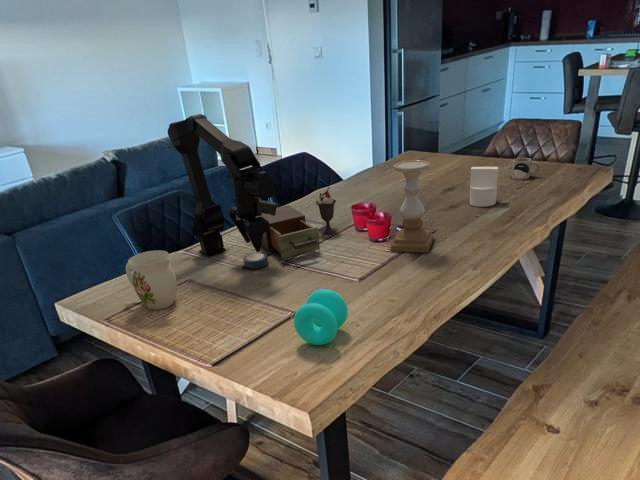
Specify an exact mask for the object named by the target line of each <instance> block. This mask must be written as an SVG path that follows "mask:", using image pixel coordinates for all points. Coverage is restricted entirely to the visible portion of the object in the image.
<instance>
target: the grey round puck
mask: <svg viewBox="0 0 640 480" xmlns="http://www.w3.org/2000/svg"><path fill="white" fill-rule="evenodd" d="M242 260H243V266H244V267H245V268H248V269H250V270H259V269H262V268H264V267H265V266H266V265H267V264H269V259H268V254H267V253H264V252H252V253H248V254H246V255H245V256H243V258H242Z"/></svg>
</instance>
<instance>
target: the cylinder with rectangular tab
mask: <svg viewBox="0 0 640 480" xmlns="http://www.w3.org/2000/svg"><path fill="white" fill-rule="evenodd" d="M498 178H499V166H472V167H471V168H470V180H469V181H470V185H469V202H468V203H469V205H470V206H472V207H476V208H477V207H478V208H479V207H480V208H485V207H491V206H494V205H495V204H497V192H498V191H497V189H498V180H499V179H498Z"/></svg>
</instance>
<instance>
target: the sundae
mask: <svg viewBox="0 0 640 480" xmlns="http://www.w3.org/2000/svg"><path fill="white" fill-rule="evenodd" d="M329 189H331V187H330V186H328V187H327V189H326V191H325V192H323V193H319V197H318V198H319V199H318V200H316V201H315V204H316V205H317V206H318V209H319V214H320V219H321V220H322V221H324V222H325V228H323V229H322V230H321V231H320V232H321V234H323V235H324V234H325V235H330V234H334V233H336V232H337V229H335V228H332V227H331V223H330V222H331V220H333V218H334V213H335V204H336V203H337V199H334V198H333V197H332V195H331V193H330V191H329Z"/></svg>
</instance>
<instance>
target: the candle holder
mask: <svg viewBox="0 0 640 480" xmlns="http://www.w3.org/2000/svg"><path fill="white" fill-rule="evenodd" d="M430 168H431V162H430V161H428V160H422V159H409V160H403V161H399V162H397V163H394V165H393V169H394V171H395V172H400V173H402V175H403V177H404V178H405V183H404V184H403V187H402V189H403V191H404V192H405V194H406V196H405V199H404V201H403V202H402V203H401V206H400V208H399V215H400V216H401V217H402V219H403V220H402V222H401V225H402V228H401V229H400V230H399V231H398V232H397V234H396V235H395V237H394V240H393V241H392V243H391V246H390V248H391V249H390V250H391V252H397V253H428V252H429V250H430V248H431V247H432V244H433V243H434V234H433V233H431V229H425V228H423V227H422V226H423V225H424V221H423V219H422V218H423V216H424V215H425V213H426V208H425V206H424V204H423V202H422V201H421V199H420V197H419V192H420V191H421V190H420V189H422V185H421V184H420V182H419V178H420V176H421V174H422V172H423V171H426V170H429V169H430Z"/></svg>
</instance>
